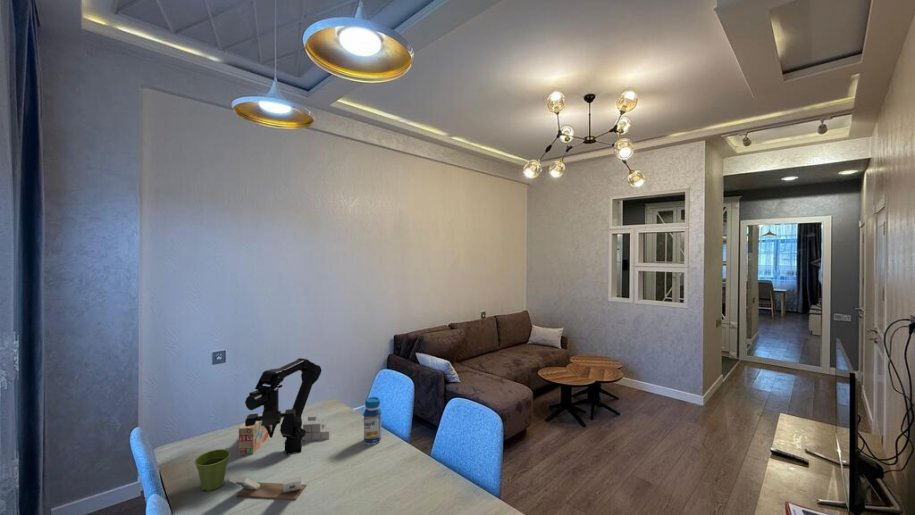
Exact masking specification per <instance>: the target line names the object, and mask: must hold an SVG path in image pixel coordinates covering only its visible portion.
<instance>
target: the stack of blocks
mask: <svg viewBox="0 0 915 515" xmlns="http://www.w3.org/2000/svg"><path fill="white" fill-rule="evenodd" d="M258 416H262V413H259V414H258ZM271 431H272V425H271ZM268 438H270V436H269V434H268V432H267V429H266V428H265V427H264V426H261V421H256V423H255V424H254V425H253V426H245V422H244V423H243V424H242V425H240V426H239V428H238V455H239V454H245V455H254V454H255V453H256V451H257V450H258V449H260V447H261V446H262V445H263V443H264V442H265V441H266V440H268ZM254 452H255V453H254Z"/></svg>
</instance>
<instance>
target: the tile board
mask: <svg viewBox="0 0 915 515" xmlns="http://www.w3.org/2000/svg"><path fill="white" fill-rule="evenodd" d="M255 482H256V483H258V484H260V487H259V489H248V488H241V490H240V491H238V492H237V493H236V495H235V498H250V499H251V498H252V499H269V500H271V499H272V500H287V501H288V500H289V501H296V500H297V499H298V498H299V496H300V495H301V494H302V492H303V491H304V490H305V489H306V487H307V484H301V489H298V490H294V491H290V492H285V493H284V490H283V483H278V482H259V481H255Z"/></svg>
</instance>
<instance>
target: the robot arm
mask: <svg viewBox="0 0 915 515" xmlns="http://www.w3.org/2000/svg"><path fill="white" fill-rule="evenodd" d="M299 371H300V372H301V375H300V376H301V377H300V378H301V384H300V387H299V389H298V391H297V395H296V398H295V400H294V402H293V405H292V408H290V409H285V412H281V410H279V398H280V397H279V396H280V395H279V390H280V388H282V387H283V385H282V384H281V383H282V382H284V379H285V378H286V377H289V376H291V375H292V374H294V373H296V372H299ZM321 374H322V367H321V366H320V365H318V364H316V363H314V362H312V361H310V360H309V359H307V358H301V357H300V358H297V359H296V360H294V361H292V362H290V363H287V364H285V365H283V366H281V367H278V368H271V369H266V370H264V371H263V372H262V373H261V376H260V377H259V379H258V382H257V384H256V386H255V387H254V389H255V390H254V391H251V392H248V393H249V394H248V396H247V397H246V399H245V401H244V402H245V406H246V408H247V409H248V410H250V411H254V410H256V409H258V408H260V407H262V406H263V410H262V413H261V414H262V416H259V414H258V413H250V414H248V415H246V418H245V421H244V423H245V426H253V425H254V424H255V423H256V421H261V426H264V427H265V428H266V429H267V432H268V434H269V438H270V439H271V438H273V436H274V433H275V429H276V428H277V425H279V424H280V426H279V427H280V429H279V431H280V434H281V435H282V436H281V437H282V438H285V440H284V452H285V455H290V454H298V453H301V452H302V448H303V444H302V440H303V437H304V436H305V432H306V431H305V430H304V429H303V420H302V418H303V417H302V415H303V412H304V410H305V407H306V404H307V402H308V398H309V395H310V393H311V390H312V388H313V385H314V384H315V383H316V382H317V381H318V380H319V378H320V376H321ZM271 425H272V431H271Z"/></svg>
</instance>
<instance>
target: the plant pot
mask: <svg viewBox="0 0 915 515" xmlns="http://www.w3.org/2000/svg"><path fill="white" fill-rule="evenodd" d="M231 454H232V453H231V450H229V449H226V448H225V449H224V448H219V449H213V450H212V449H211V450H209V451H206V452H203V453H202V454H199V455H198V456H197V457H196V458H195V459H194V462H193V463H194V465H195V466H196V469H197V473H198V478H199V482H200V487H201V490H202V491H206V492H210V491H213V490H214V491H215V490H216V489H219V488H220V487H221V486H222V485H223V484H224V483H225V477H226V470H227V464H228V462H229V459H230V456H231Z"/></svg>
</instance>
